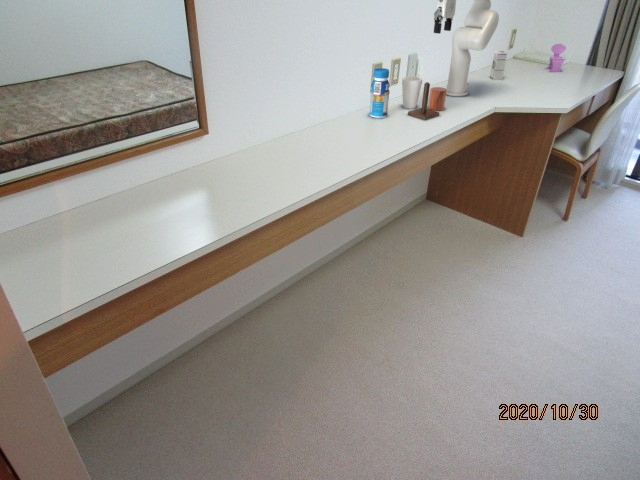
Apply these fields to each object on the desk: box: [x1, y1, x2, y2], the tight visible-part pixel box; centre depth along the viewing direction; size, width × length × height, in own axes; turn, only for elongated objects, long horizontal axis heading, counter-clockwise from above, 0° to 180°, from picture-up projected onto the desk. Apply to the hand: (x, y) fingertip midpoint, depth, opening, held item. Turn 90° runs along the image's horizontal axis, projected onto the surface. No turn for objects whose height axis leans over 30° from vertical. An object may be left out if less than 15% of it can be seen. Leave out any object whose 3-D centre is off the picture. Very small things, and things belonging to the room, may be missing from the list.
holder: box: [407, 82, 440, 121], centre depth 201 cm, size 10×10×15 cm
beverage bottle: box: [369, 67, 391, 119], centre depth 200 cm, size 8×8×20 cm
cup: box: [427, 86, 447, 112], centre depth 212 cm, size 7×7×9 cm
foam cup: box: [401, 75, 423, 109], centre depth 213 cm, size 10×9×13 cm
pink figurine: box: [546, 43, 567, 73], centre depth 276 cm, size 8×9×15 cm
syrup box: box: [489, 50, 508, 80], centre depth 260 cm, size 6×6×14 cm
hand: (442, 31), depth 203 cm, fingers open, 9 cm apart
